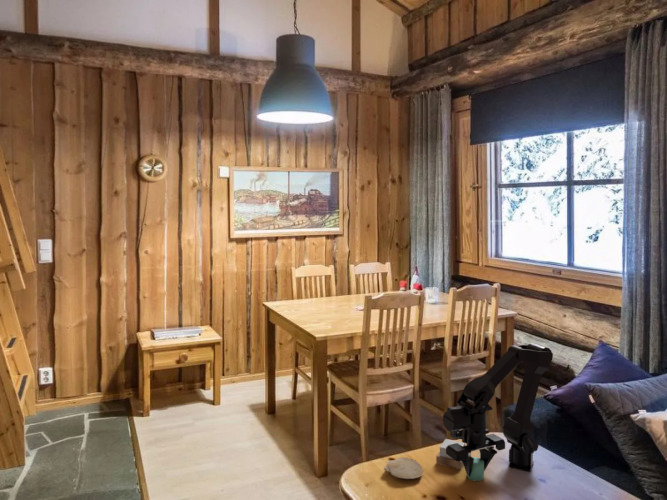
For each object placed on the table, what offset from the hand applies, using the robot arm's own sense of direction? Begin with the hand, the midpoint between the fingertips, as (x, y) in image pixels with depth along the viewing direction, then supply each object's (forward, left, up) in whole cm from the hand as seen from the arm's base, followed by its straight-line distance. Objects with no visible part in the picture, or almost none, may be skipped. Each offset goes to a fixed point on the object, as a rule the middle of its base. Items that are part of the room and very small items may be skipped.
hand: (475, 473), depth 164 cm
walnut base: (+9, -6, -2) cm, 11 cm away
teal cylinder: (0, 0, -1) cm, 1 cm away
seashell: (+20, +9, -1) cm, 22 cm away
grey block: (+9, -6, +2) cm, 11 cm away
